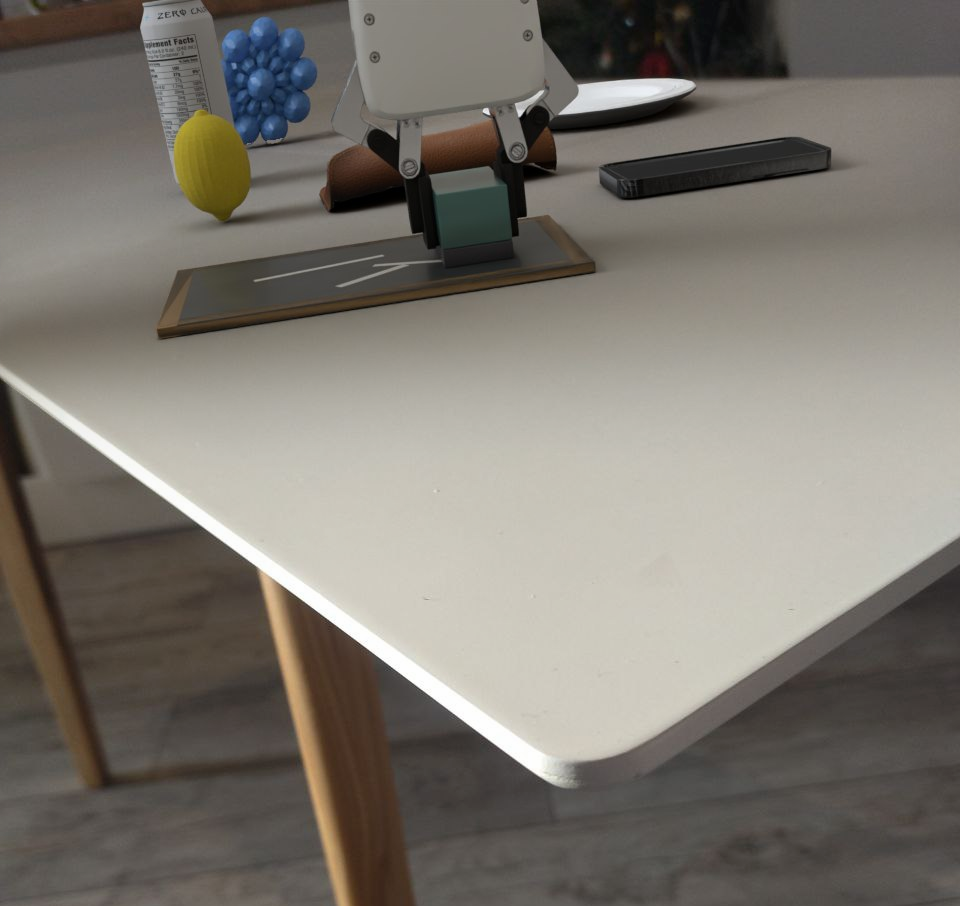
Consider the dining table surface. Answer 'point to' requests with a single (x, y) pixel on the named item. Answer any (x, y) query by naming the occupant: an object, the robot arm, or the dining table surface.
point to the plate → (614, 101)
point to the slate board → (356, 279)
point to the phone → (713, 166)
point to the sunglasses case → (424, 161)
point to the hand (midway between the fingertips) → (470, 235)
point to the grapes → (266, 79)
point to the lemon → (212, 164)
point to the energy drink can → (183, 64)
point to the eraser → (471, 217)
